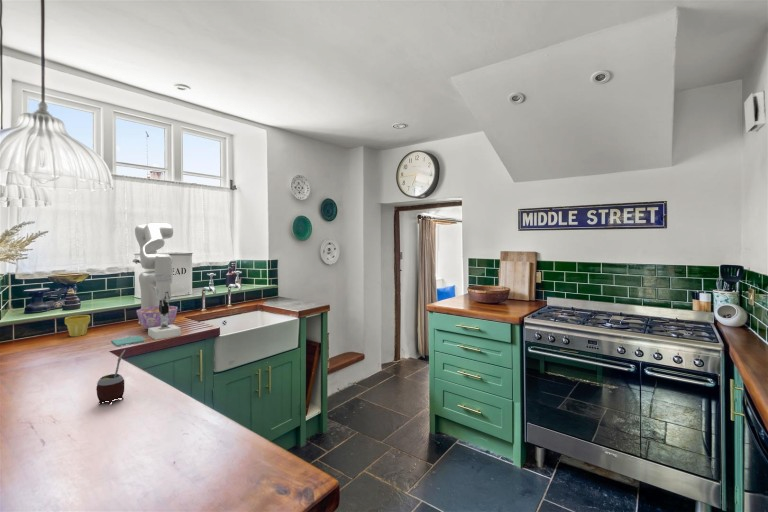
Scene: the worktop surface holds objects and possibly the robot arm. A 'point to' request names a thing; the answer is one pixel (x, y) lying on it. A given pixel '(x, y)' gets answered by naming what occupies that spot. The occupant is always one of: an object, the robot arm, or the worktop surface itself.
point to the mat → (128, 340)
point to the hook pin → (163, 317)
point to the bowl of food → (155, 316)
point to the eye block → (164, 332)
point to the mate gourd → (111, 386)
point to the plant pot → (77, 324)
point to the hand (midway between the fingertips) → (163, 312)
